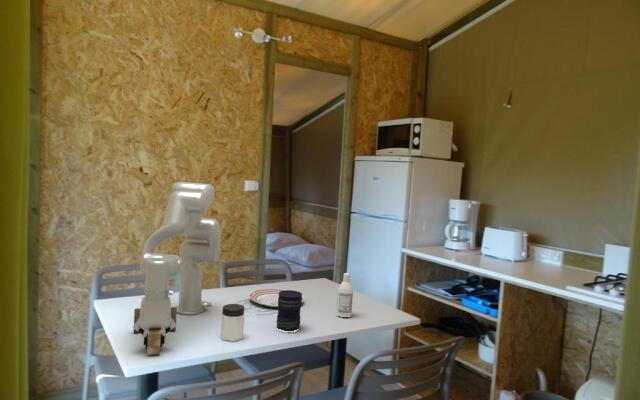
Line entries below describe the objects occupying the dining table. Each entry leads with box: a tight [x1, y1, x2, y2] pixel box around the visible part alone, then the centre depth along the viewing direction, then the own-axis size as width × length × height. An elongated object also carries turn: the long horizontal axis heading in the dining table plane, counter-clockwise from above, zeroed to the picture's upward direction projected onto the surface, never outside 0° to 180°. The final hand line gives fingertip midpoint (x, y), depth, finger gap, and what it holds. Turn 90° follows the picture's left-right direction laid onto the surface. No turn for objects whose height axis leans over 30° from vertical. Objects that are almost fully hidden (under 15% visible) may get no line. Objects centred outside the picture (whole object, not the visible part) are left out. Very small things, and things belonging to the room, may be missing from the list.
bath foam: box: [335, 272, 354, 316], centre depth 204 cm, size 7×7×20 cm
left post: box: [133, 307, 141, 335], centre depth 167 cm, size 3×3×9 cm
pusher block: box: [146, 328, 162, 356], centre depth 152 cm, size 4×10×7 cm, turn 19°
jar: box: [220, 303, 245, 342], centre depth 169 cm, size 9×8×12 cm
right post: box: [168, 306, 178, 333], centre depth 171 cm, size 3×3×9 cm
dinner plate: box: [248, 288, 305, 308], centre depth 219 cm, size 27×27×3 cm
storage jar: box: [276, 289, 303, 331], centre depth 182 cm, size 10×10×15 cm
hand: (154, 345), depth 152 cm, fingers closed on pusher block, 4 cm apart
